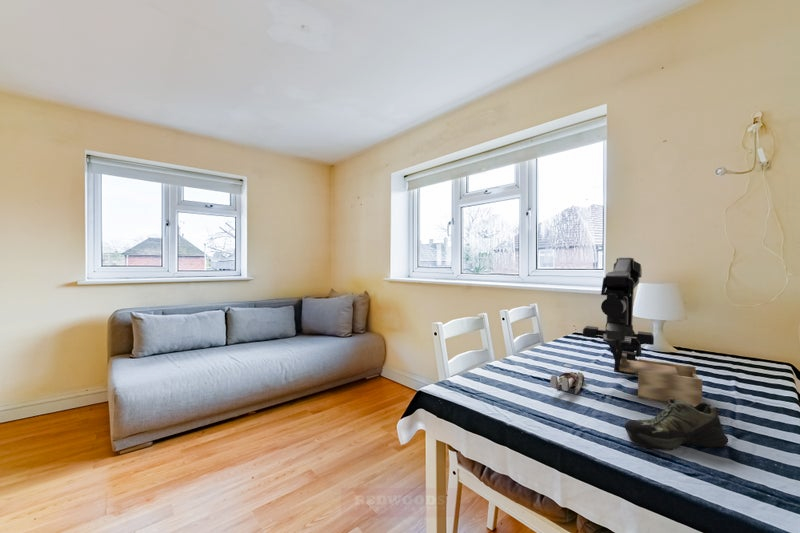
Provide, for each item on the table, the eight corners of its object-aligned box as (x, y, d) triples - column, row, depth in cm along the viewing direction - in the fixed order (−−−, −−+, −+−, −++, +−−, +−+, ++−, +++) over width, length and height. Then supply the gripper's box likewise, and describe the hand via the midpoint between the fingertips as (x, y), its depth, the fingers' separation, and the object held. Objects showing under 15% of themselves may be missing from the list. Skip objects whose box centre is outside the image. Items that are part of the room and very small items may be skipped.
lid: (619, 370, 101) (619, 360, 101) (620, 361, 110) (621, 351, 110) (679, 380, 93) (679, 368, 93) (675, 369, 102) (675, 358, 102)
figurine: (548, 373, 99) (570, 366, 113) (547, 393, 99) (569, 383, 113) (570, 378, 95) (590, 370, 109) (569, 399, 94) (589, 388, 108)
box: (638, 397, 97) (638, 369, 97) (638, 383, 109) (638, 358, 109) (701, 410, 89) (702, 379, 89) (694, 393, 100) (695, 366, 100)
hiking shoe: (613, 432, 78) (613, 392, 78) (698, 429, 79) (699, 390, 79) (641, 452, 70) (641, 409, 69) (736, 449, 71) (737, 406, 71)
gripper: (580, 313, 105) (579, 362, 105) (654, 319, 94) (653, 374, 94) (585, 309, 114) (585, 354, 114) (653, 314, 103) (652, 364, 103)
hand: (616, 361), depth 106 cm, fingers closed
